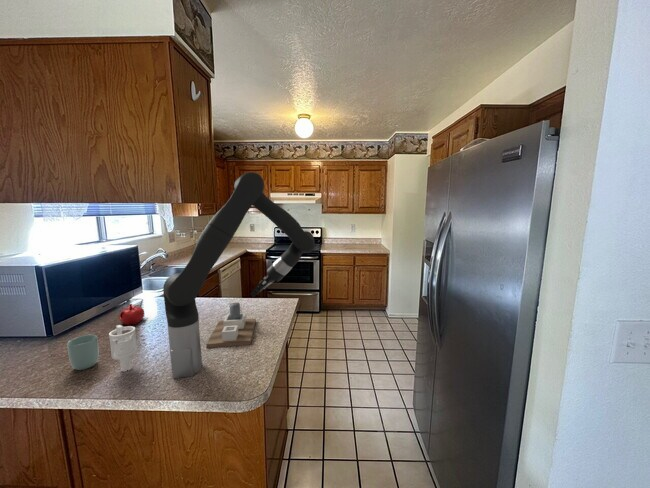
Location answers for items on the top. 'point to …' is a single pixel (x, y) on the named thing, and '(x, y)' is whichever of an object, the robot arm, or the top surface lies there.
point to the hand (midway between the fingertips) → (256, 292)
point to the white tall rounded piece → (123, 346)
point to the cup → (83, 351)
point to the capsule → (235, 311)
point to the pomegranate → (131, 315)
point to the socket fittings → (232, 327)
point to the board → (242, 339)
